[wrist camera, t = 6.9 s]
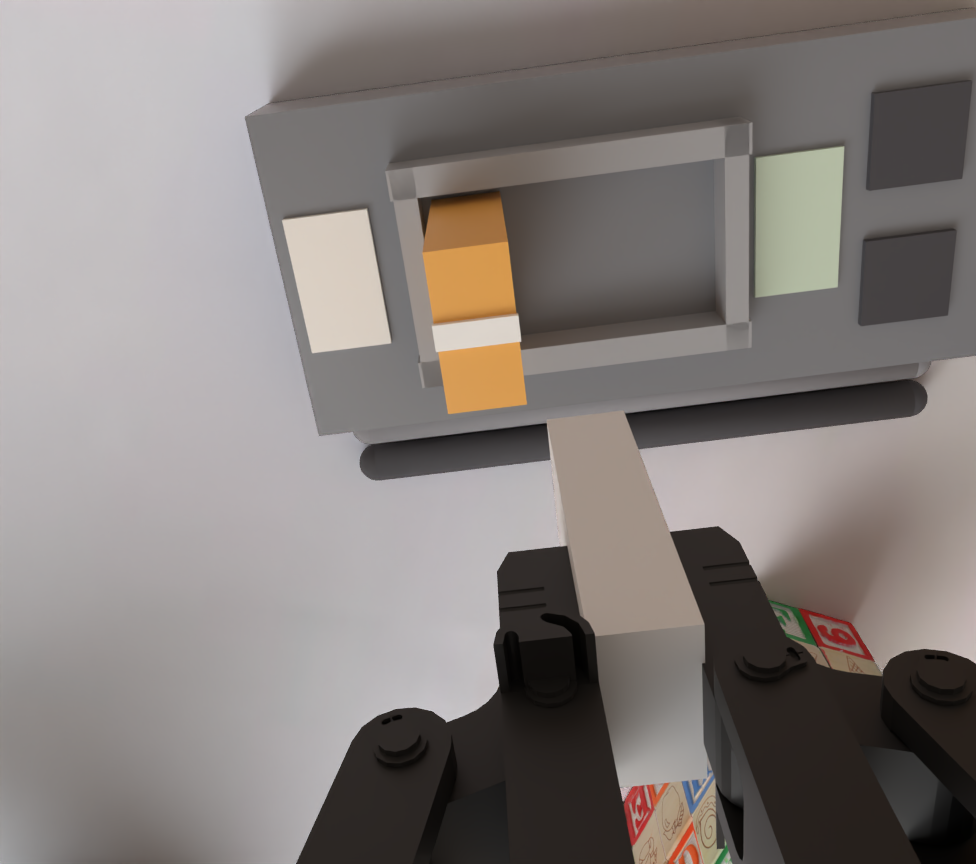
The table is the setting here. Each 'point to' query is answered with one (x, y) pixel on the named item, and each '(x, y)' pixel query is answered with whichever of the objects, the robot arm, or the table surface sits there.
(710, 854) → the stack of blocks
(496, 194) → the breaker lever
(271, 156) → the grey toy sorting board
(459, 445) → the grey ledge with rod
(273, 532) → the table surface
